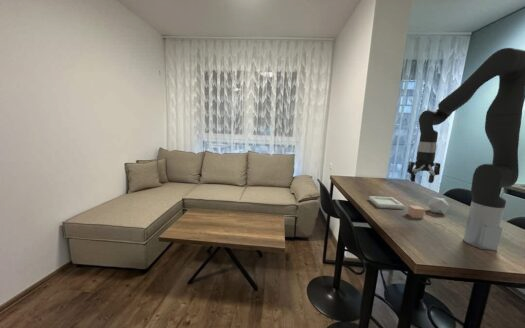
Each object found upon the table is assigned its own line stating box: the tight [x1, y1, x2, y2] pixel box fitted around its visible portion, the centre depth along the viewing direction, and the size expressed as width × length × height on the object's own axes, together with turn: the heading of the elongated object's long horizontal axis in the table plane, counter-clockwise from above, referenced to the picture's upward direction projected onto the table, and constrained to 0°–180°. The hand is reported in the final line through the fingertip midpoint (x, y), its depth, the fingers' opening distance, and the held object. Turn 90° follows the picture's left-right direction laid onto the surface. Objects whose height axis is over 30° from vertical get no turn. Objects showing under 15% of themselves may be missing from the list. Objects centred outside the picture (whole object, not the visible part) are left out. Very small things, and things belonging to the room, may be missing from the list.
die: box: [426, 196, 450, 215], centre depth 121 cm, size 8×9×10 cm
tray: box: [368, 195, 405, 210], centre depth 132 cm, size 14×14×2 cm
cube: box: [407, 204, 425, 219], centre depth 115 cm, size 5×5×5 cm
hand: (421, 182), depth 113 cm, fingers open, 8 cm apart
